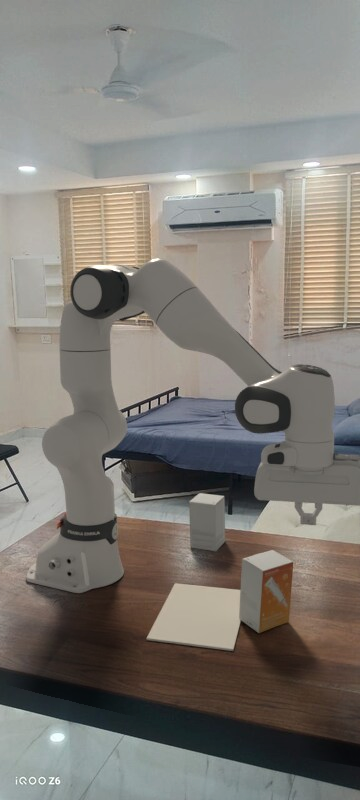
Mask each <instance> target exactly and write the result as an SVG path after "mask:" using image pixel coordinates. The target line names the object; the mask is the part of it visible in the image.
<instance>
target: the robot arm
mask: <svg viewBox="0 0 360 800" xmlns="http://www.w3.org/2000/svg"><path fill="white" fill-rule="evenodd" d="M69 290H70V291H69V292H70V293H69V294H70V300H69V301H68V302H67V303H66V304H65V305H64V306H63V307H62V308H63V309H62V313H61V319H60V326H59V367H60V368H59V371H60V373H59V374H60V384H61V387H62V388H63V389H64V390H65V391H66V392H67V393H68V394H69V396H70V399H71V400H70V401H71V403H72V408H73V414H70V415H66V416H64V417H62V418H60V419H58V420H57V421H56V422H54V423H53V424H52V425H50V426H49V427H48V428H47V429H46V430H45V432H44V434H43V436H42V441H41V446H42V452H43V455H44V457H45V458H46V459H47V461H48V462H49V463H50V464H51V465H53V466H54V467H56V469H57V471H58V472H59V475H60V477H61V480H62V483H63V487H64V489H63V490H64V498H65V500H64V501H65V510H66V512H65V513H64V516H63V517H61V518H60V519H59V521H58V522H57V523H56V529H57V530H58V529H59V528H60V531H59V532H57V533H56V534H55V535H54V536H52V537H51V538H50V539H48V541H46V542H45V543H44V544H43V545H42V546H41V547H40V549H39V550H38V551H37V552H38V553H37V556H36V561H35V562H34V563H33V564H32V565H31V566H30V567H29V569H28V571H27V572H26V581H27V582H28V583H32V584H37V585H40V586H45V587H48V588H53V589H57V590H60V591H61V590H62V591H65V592H70V593H73V594H83V593H85V592H88V591H90V590H93V589H98V588H102V587H106V586H110V585H112V584H114V583H116V582H117V581H119V580H120V579H121V578H122V577H123V575H124V573H125V568H124V567H123V564H122V560H121V557H120V551H119V545H118V536H119V526H118V525H119V524H118V517H117V514H116V511H115V510H116V509H115V485H114V482H113V479H111V478H110V477H109V476H107V474H106V472H105V469H104V466H103V460H102V458H103V455H105V454H106V453H108V452H110V451H113V450H114V449H115V448H117V446H118V445H119V444H121V442H122V441H123V440H124V438H125V437H126V435H127V432H128V422H127V418H126V417H125V415H124V413H123V412H122V410H120V409H119V407H118V404H117V401H116V400H117V399H116V397H115V392H114V389H113V383H112V382H113V381H112V363H111V362H112V356H111V353H112V352H111V351H112V350H111V331H112V327H113V325H114V323H115V322H116V321H117V320H119V321H122V322H123V321H127V320H129V319H132V318H135V317H138V316H141V315H143V314H144V313H146V315H147V316H148V317H149V318H150V319H151V320H152V321H153V323H154V324H155V325H156V327H158V328H159V330H160V331H161V332H162V333H163V334H164V335H165V337H167V339H168V340H170V341H171V342H173V343H174V344H175V345H176V346H178V347H179V348H181V349H183V350H186V351H187V350H188V351H193V352H197V353H198V352H199V353H202V354H207V355H209V356H211V357H212V356H213V357H214V358H217V359H219V360H220V361H221V362H223V363H224V364H225V365H227V366H228V367H229V368H230V369H231V370H232V371H233V373H235V375H236V376H238V377H239V378H240V380H242V381H243V383H244V384H245V385H246V386H245V388H244V389H242V390H241V391H240V392H239V393H238V395H237V396H236V399H235V402H234V413H235V418H236V419H237V422H238V423H239V424H240V426H241V427H242V428H243V429H244V430H246V431H248V432H250V433H253V434H258V435H260V434H271V433H277V432H278V433H279V432H282V433H284V435H285V438H284V440H282V441H279V442H275V443H272V444H268V445H265V447H264V448H263V449H262V451H261V453H260V463H259V465H258V467H257V470H256V474H255V480H254V486H253V487H254V489H253V492H254V493H253V494H254V496H255V498H256V499H257V500H258V501H270V502H271V501H272V502H273V501H274V502H285V503H286V502H288V503H289V502H291V503H294V510H296V512H297V513H298V515H299V516H300V517H299V518H300V521H299V522H300V525H308V526H317V517H318V516H319V515H320V513H321V512H322V510H323V504H326V505H327V504H328V505H341V506H359V507H360V455H359V454H355V453H354V454H346V453H335V433H334V431H333V430H334V429H333V422H334V419H335V415H336V414H335V412H336V411H335V409H336V408H335V407H336V403H335V399H336V398H335V387H334V382H333V378H332V375H331V374H330V373H329V371H328V370H326V369H324V368H322V367H319V366H315V365H309V364H302V363H301V364H293V365H290V366H289V367H288V368H287V369H286V370H284V371H283V372H282V371H280V370H278V369H276V368H275V367H274V366H273V365H272V364H270V362H269V361H268V360H266V358H265V357H264V356H263V355H262V354H260V353H259V351H257V350H256V349H255V347H253V345H252V344H250V343H249V341H248V340H246V339H245V338H244V337H243V336H242V335H241V334H240V333H239V332H238V331H237V330H236V328H234V327H233V326H232V325H231V324H230V322H229V321H228V320H227V319H226V318H225V317H224V316H223V315H222V314H221V312H219V310H218V309H217V308H216V307H215V306H214V305H213V303H212V302H211V301H210V299H208V298H207V296H206V295H205V294H204V293H203V292H202V290H200V288H199V287H198V286H197V285H196V284H195V283H194V282H193V281H192V279H190V278H189V277H188V276H187V275H186V274H185V273H184V272H183V271H181V270H180V269H179V267H177V266H175V265H174V264H173V263H171V262H170V261H169V260H166V259H165V258H153V259H151V260H148V261H146V262H144V263H143V264H142V265H141V266H140V267H138V266H129V265H124V264H111V265H107V264H106V265H102V264H96V265H95V264H94V265H90V266H87V267H84V268H82V269H80V270H79V271H77V273H76V274H75V275H74V277H73V278H72V280H71V283H70V289H69ZM303 503H307V504H314V508H315V509H314V511H313V512H312V513H311V512H305V511H304V510H303Z"/></svg>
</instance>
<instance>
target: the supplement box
mask: <svg viewBox="0 0 360 800" xmlns="http://www.w3.org/2000/svg"><path fill="white" fill-rule="evenodd" d="M225 500H226V499H225V495H219V494H209V493H202V492H200V493H198V494H197V495H195V496H194V497H193V498H192V499H190V500H189V502H188V505H189V506H188V508H189V542H190V544H189V545H190V548H193V549H197V550H198V549H199V550H206V551H209V552H218V550H219V549H220V548H221V546H222V545H223V544H224V543H225V542H226V517H225V516H226V515H225V513H226V508H225V506H226V505H225V504H226V503H225V502H226V501H225Z"/></svg>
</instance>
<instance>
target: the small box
mask: <svg viewBox="0 0 360 800" xmlns="http://www.w3.org/2000/svg"><path fill="white" fill-rule="evenodd" d="M293 571H294V561H293V560H292V559H290V558H288V557H286V556H284V555H282V554H280V553H279V552H277V551H276V550H273V549H271V550H267V551H264V552H260V553H255V554H253V555H250V556H247V557H244V558H242V559H241V571H240V572H241V573H240V574H241V576H240V589H239V590H240V608H239V619H240V620H241V622H243V623H244V624H246V625H247V626H248V627H250V628H251V629H252V630H254V631H255V632H257V633H258V634H261V633H263V632H265V631H268V630H271V629H273V628H276V627H278V626H281V625H284V624H287V623H289V621H290V615H291V614H290V611H291V610H290V609H291V599H292V598H291V596H292V587H293V586H292V585H293V584H292V583H293Z"/></svg>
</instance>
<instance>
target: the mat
mask: <svg viewBox="0 0 360 800" xmlns="http://www.w3.org/2000/svg"><path fill="white" fill-rule="evenodd" d="M240 590H241V589H235V588H225V587H217V586H216V587H215V586H205V585H204V586H203V585H194V584H186V583H176V582H175V583H174V585H173V586H172V588H171V590H170V592H169V594H168V596H167V598H166V600H165V601H164V604H163V605H162V608H161V610H160V611H159V613H158V615H157V617H156V619H155V620H154V623H153V625H152V627H151V629H150V630H149V633H148V635H147V637H146V641H151V642H160V643H166V644H168V643H169V644H173V645H174V644H175V645H181V646H182V645H184V646H190V647H191V646H192V647H199V648H207V649H214V650H221V651H228V652H231V651H232V652H234V650H235V646H236V641H237V637H238V634H239V630H240V626H241V623H242V621H241V620H240V619H239V608H240Z"/></svg>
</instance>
